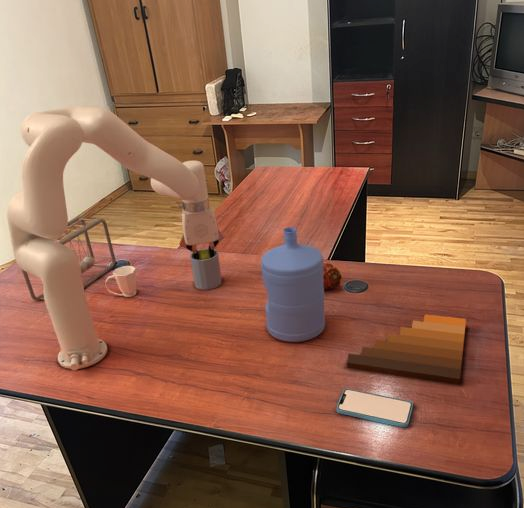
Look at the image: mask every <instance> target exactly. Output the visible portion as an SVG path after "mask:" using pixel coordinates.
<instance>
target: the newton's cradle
mask: <svg viewBox="0 0 524 508" xmlns="http://www.w3.org/2000/svg"><path fill="white" fill-rule="evenodd" d="M85 221H90V222H88V223H87V224H86V222H85ZM79 222H80V223H81V227H80V224H79V225H77V223H79ZM101 223H102V225H103V229H104V234H105V238H106V241H107V245H108V250H109V253H110V257H111V264H109V265H108V264H101V263H96V260H95V255H94V252H93V248H92V244H91V241H90V237H89V233H88V231H89V230H91V229H92V228H94V227H96V226H98V225H99V224H101ZM75 225H76V226H78V227H80V228H78V229H77V230H76V228H75ZM72 226H73V229H72V231H73V232H71V233H70V234H68V232H67V231H66V232H65V234H66V236H65V237H63V238H60V237H58V238H57V239H58V240H57V242H58V243H61V244H63V245H66V244H68V243H70V244H69V248H70V249H71V250H73V251H74V252H75V253H76V250H75V248H74V246H73V243H72V240H74V239H75V238H77V243H78V245H81V247H82V249H83V252H84V254H85V257H84V258H83V260H82V259H81V258H82V257H81V255H79V261H80V265H81V273H84V272H86V271H87V270H88V268H92V267H93V266H101V267H106V268H104V269H103V270H101V271H100V272H99V273H97V274H96V275H95V276H93V277H91V278H90V279H88V280H87V281H86V282H85V283H83V288H84V289H85V288H86V287H88V286H90V285H91V284H92V283H93V282H95V281H96V280H98V279H100V278H101V277H102V276H103V275H105V274H106V273H108V272H109V271H111V270H112V269H113V268H114V267H115V265H116V256H115V252H114V249H113V244H112V241H111V236H110V233H109V228H108V224H107V222H106V220H105V219H103V218H99V219H92V218H91V219H90V218H83V217H82V216H77V217H75V218H73V219H71V220H68V227H67V229H69V228H71V227H72ZM81 235H84V238H85V241H86V242H85V243H86V249H87V250H86V251H87V252H88V254H87V253H86V251H85V249H84V246H83V244H82V242H81V239H80V236H81ZM51 240H52V241H55V238H54V239H51ZM81 247H78V251H79V253H81V251H80V250H81V249H80V248H81ZM76 255H77V256H78V254H77V253H76ZM21 272H22V274H23V277H24V281H25V283H26V286H27V289H28V292H29V295H30V298H31V299H32V300H33V301H40V300H44V292H42V293H41V294H39V295H38V296H36V294H35V292H34V289H33V286H32V283H31V281H30V278H29V273H27V272H26V271H24V270H23V269H21ZM44 301H45V300H44Z"/></svg>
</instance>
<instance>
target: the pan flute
mask: <svg viewBox="0 0 524 508" xmlns="http://www.w3.org/2000/svg"><path fill="white" fill-rule="evenodd" d="M466 323H467V318H464V317H463V318H461V317H453V316H443V315H436V314H435V315H434V314H424V317H423V321H421V320H412V325H411V327H407V326H400V329H399V334H398V333H391V332H389V333H387V339H386V340H382V339H381V340H380V339H375V341H374V346H373V347H369V346H361V351H360V354H355V353H348V356H347V360H346V365H347V369H350V370H351V369H352V370H358V371H359V370H360V371H366V372H372V373H373V372H374V373H379V374H385V375H391V376H392V375H393V376H399V377H408V378H413V379H420V380H425V381H426V380H427V381H434V382H441V383H446V384H454V385H460V382H461V381H460V380H461V375H462V364H463V363H462V362H463V353H464V344H465V343H464V342H465V333H466Z"/></svg>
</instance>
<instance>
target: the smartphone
mask: <svg viewBox="0 0 524 508" xmlns="http://www.w3.org/2000/svg"><path fill="white" fill-rule="evenodd" d="M413 407H414V404H413V402H412V401H410V400H407V399H402V398H398V397H397V398H396V397H392V396H387V395H383V394H378V393H377V394H376V393H372V392H367V391H363V390H357V389H352V388H344V389H343V391H342V393H341V396H340V398H339V401H338V402H337V405H336V412H337V413H338V414H341V415H346V416H349V417H355V418H360V419H363V420H369V421H372V422H376V423H382V424H386V425H391V426H395V427H400V428H406V427H408V426H409V423H410V419H411V416H412V412H413Z"/></svg>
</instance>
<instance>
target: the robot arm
mask: <svg viewBox="0 0 524 508" xmlns="http://www.w3.org/2000/svg"><path fill="white" fill-rule="evenodd" d="M20 129H21V130H20V133H21V137H22V139H23V141H24V143H25V144H26V146H28V147H29V148H28V150H27V151H26V153H25V155H24V157H23V160H22V165H21V180H22V190H23V191H20V192H18V193H16V194H15V195H14V196H12V198H11V200H10V201H9V203H8V205H7V211H6V218H7V225H8V231H9V237H10V242H11V247H12V252H13V256H14V259H15V262H16V264H17V266H18V267H19V268H20V269H21V270H22V269H23V270H24V271H26V272H27V274H28V275H29V274H30V275H31V276H34V277H36V278H38V279H39V280H40V281H41V283H42V286H43V293H44V297H43V298H44V303H45V306H46V309H47V312H48V314H49V318H50V321H51V323H52V326H53V330H54V332H55V336H56V339H57V342H58V345H59V347H60V351H59V352H58V354H57V362H58V364H59V366H61V367H63V368H65V369H70V370H71V371H77V370H78V369H85V368H88V367H91V366H93V365H95V364H97V363H99V362H100V361H101V360H103V359H104V358H105V356H107V353H108V346H107V343H106V342H105V341H104V340H102V339H99V337H98V333H97V329H96V326H95V323H94V319H93V316H92V312H91V309H90V306H89V302H88V299H87V296H86V292H85V288H83V284H84V283H83V279H82V272H81V265H80V261H81V260H80V257H79V256H78V254H77V253H75V252H76V251H74V249H72V248H71V249H70V246H67V245H66V244H64V245H63V244H61V243H60V242H59V243H58V241H56V240H55V239H59V238H60V237H62V236H64V235H65V234H66V232H67V231H68V228H67V227H68V222H69V217H68V216H69V215H68V210H67V209H68V208H67V202H66V194H65V188H64V185H65V184H64V172H65V170H66V169H65V168H66V166H67V164H68V162H69V161H70V159H71V158H72V157H73V156H74V155H75V154H76V153H77V152H78V151H79V149H80V148H81V147H82V145H83V143H84V144H85V143H86V144H91V145H94V146H96V147H97V148H99V149H100V150H102V151H103V152H104V153H106V154H107V155H108V156H110V157H111V158H113V159H114V160H115V161H116V162H118V163H119V164H120V165H122V166H123V167H124V168H125V169H127V170H129V171H131V172H133V173H136V174H138V175H141V176H143V177H147V178H149V179H150V186H151V188H152V191H154V192H155V193H156V194H158V195H161V196H164V197H168V198H174V199H177V200H182V201H181V202H180V203H177V206H178V209H182V211H181V224H182V225H181V226H182V235H181V238H180V239H179V243H178V244H179V247H181V248H184V249H187V250H188V251H190V252H191V253H193V256H194V259H196V260H199V255H198V251H197V250H198V249H197V246H198V245H203V244H208V248H207V249H208V250H209V253H210V258H212V257H214V256H215V254H214V250H216V247H217V246H218V244H220V242H221V241H223V240H224V239H225V236H224V234H223V233H222V232H221V231H220V230H219V227H218V223H217V219H216V215H215V211H214V208H213V207H212V206H211V205H210V201H209V200H210V199H209V193H208V186H207V178H206V172H205V167H204V164H203V162H201V161H199V160H187V161H182V162H181V160H179V159H177V158H176V157H175V156H173V155H171V154H170V153H168V152H166V151H164V150H162V149H160V148H159V147H158V146H156V145H155V144H153V143H151V142H149V141H147V140H146V139H145V138H143V137H142V136H141V134H138V132H136V131H135V130H134V129H132V128H131V127H130V126H129V125H128V124H127V123H126V122H125V121H123V120H122V119H121V117H118V115H116V114H115V113H114V112H113V111H111V110H109V109H107V108H104V107H98V106H88V105H79V106H78V105H77V106H72V107H71V106H70V107H65V108H58V109H52V110H51V109H49V110H44V111H37V112H32V113H31V114H29V115H27V116H26V117H25V118H24V120H23V121H22V124H21V128H20ZM58 237H59V238H58ZM52 239H54V240H52ZM76 254H77V255H76Z"/></svg>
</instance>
